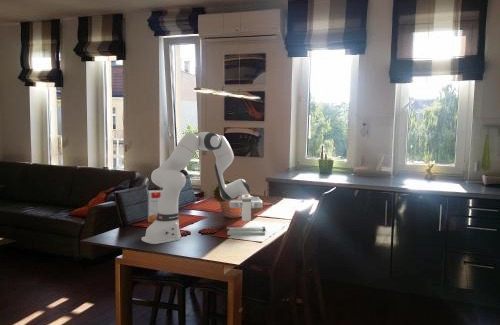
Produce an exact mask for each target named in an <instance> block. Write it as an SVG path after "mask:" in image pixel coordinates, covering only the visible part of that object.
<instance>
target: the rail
mask: <svg viewBox="0 0 500 325" xmlns="http://www.w3.org/2000/svg"><path fill="white" fill-rule="evenodd" d="M227 231H265V232H266V226H262V227H230V226H226V232H227Z"/></svg>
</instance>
